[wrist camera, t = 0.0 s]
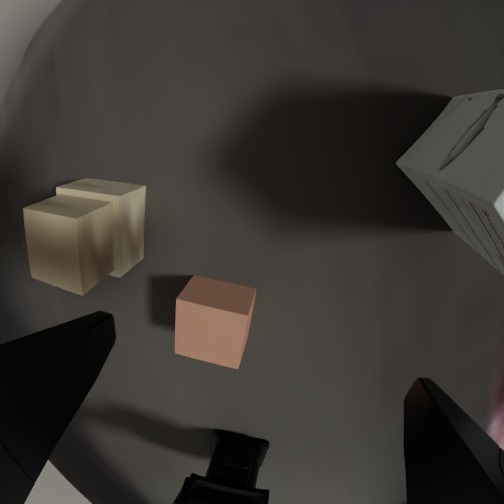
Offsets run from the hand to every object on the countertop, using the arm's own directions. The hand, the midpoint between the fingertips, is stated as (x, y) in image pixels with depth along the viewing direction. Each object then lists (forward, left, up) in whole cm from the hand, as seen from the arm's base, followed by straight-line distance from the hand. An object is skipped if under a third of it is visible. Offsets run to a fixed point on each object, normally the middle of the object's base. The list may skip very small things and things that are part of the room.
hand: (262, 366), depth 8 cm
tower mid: (-2, +14, -11) cm, 18 cm away
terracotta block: (-8, +4, -15) cm, 17 cm away
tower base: (-2, +14, -15) cm, 21 cm away
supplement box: (+7, -11, -15) cm, 20 cm away
